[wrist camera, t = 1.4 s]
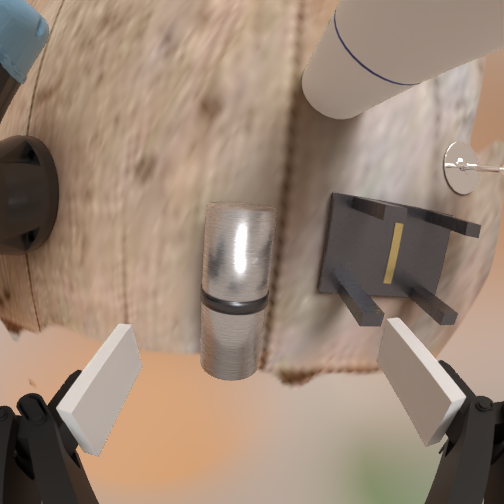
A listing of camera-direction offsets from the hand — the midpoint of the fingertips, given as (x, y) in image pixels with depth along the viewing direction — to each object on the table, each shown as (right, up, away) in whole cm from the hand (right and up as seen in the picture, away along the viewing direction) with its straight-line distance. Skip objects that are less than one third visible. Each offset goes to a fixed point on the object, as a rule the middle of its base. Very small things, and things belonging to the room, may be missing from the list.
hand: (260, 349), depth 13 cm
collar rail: (+14, +5, +15) cm, 21 cm away
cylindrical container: (+8, +21, +10) cm, 25 cm away
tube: (-2, +2, +16) cm, 16 cm away
